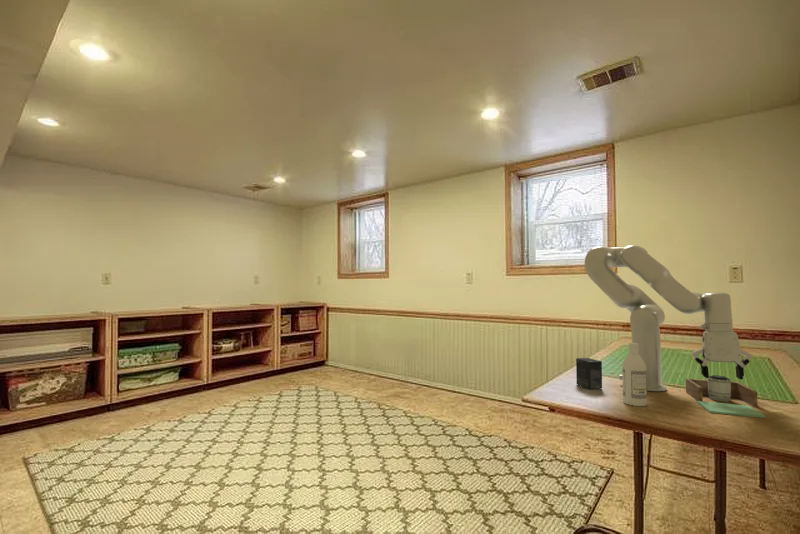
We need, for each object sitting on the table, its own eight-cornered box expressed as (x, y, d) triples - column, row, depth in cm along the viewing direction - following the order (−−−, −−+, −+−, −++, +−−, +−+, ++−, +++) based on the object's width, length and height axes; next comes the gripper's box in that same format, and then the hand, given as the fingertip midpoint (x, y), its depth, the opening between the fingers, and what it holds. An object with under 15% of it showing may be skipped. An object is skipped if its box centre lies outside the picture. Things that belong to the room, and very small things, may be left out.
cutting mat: (709, 412, 125) (709, 410, 125) (696, 402, 135) (696, 400, 135) (765, 417, 120) (765, 415, 120) (747, 407, 130) (747, 405, 130)
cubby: (699, 402, 136) (698, 387, 136) (685, 392, 148) (685, 378, 148) (757, 407, 130) (757, 391, 131) (738, 396, 143) (738, 382, 143)
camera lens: (707, 395, 144) (707, 373, 144) (730, 398, 140) (729, 376, 140) (708, 399, 138) (707, 376, 139) (731, 403, 135) (731, 379, 135)
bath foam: (651, 405, 132) (650, 344, 133) (638, 408, 129) (637, 345, 130) (631, 399, 138) (630, 341, 139) (618, 402, 135) (617, 342, 136)
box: (602, 389, 151) (602, 361, 152) (589, 390, 150) (589, 361, 150) (588, 384, 159) (588, 357, 159) (576, 384, 158) (575, 357, 158)
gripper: (693, 328, 139) (696, 379, 138) (754, 329, 133) (759, 381, 132) (686, 327, 146) (689, 374, 145) (744, 327, 140) (747, 376, 139)
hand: (722, 377), depth 139 cm, fingers open, 9 cm apart
